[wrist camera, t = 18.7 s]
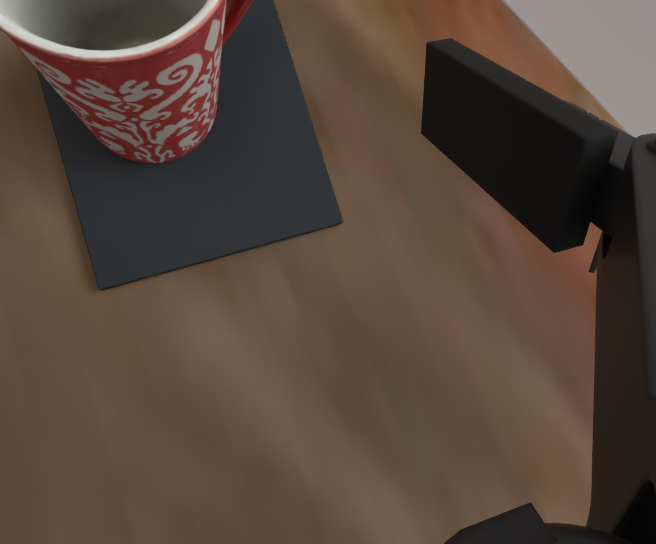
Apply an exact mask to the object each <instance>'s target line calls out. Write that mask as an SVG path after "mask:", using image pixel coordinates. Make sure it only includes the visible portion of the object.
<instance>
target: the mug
mask: <svg viewBox="0 0 656 544" xmlns="http://www.w3.org/2000/svg"><path fill="white" fill-rule="evenodd" d="M252 1H253V0H0V30H1V31H3V32H5V33H6V34H7V35H8V36H9V37H10V38H11V40H12V41H13V42H14V43H15V44H16V45H17V47H18V48H19V49H20V51H21V52H22V53H23V54H24V55H25V56H26V57H27V59H28V60H29V61H30V62H31V63H32V64H33V65H34V66H35V67H36V69H37V70H38V71H39V72H40V74H41V75H42V76H43V77H44V78H45V79H46V80H47V81H48V82H49V83H50V84H51V86H52V87H53V88H54V89H55V90H56V91H57V93H58V94H59V95H60V96H61V97H62V98H63V100H64V101H65V102H66V103H67V104H68V105H69V107H70V108H71V109H72V110H73V111H74V112H75V113H76V114H77V116H78V117H79V118H80V119H81V120H82V121H83V122H84V124H85V125H86V126H87V127H88V128H89V129H90V131H91V132H92V133H93V134H94V135H95V136H96V137H97V138H98V140H99V141H100V142H101V143H102V144H103V145H105V146H106V147H107V148H108V149H109V150H111V151H112V152H114V153H116V154H118V155H119V156H121V157H124V158H126V159H129V160H132V161H137V162H141V163H163V162H168V161H172V160H175V159H178V158H180V157H182V156H184V155H186V154H188V153H190V152H191V151H192V150H193V149H195V148H196V147H197V146H198V145H199V144H200V143H201V142H202V141H203V140H204V139H205V137H206V136H207V134H208V133H209V131H210V129H211V127H212V125H213V122H214V119H215V116H216V111H217V102H218V88H219V76H220V64H221V52H222V46H223V45H224V43H225V42H226V40H227V39H228V38H229V36H230V35H231V34H232V32H233V31H234V30H235V28H236V26H237V25H238V23H239V22H240V20H241V19H242V17H243V16H244V14H245V13H246V11H247V9H248V8H249V6H250V4H251V3H252Z"/></svg>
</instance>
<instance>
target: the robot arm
mask: <svg viewBox="0 0 656 544" xmlns="http://www.w3.org/2000/svg"><path fill="white" fill-rule="evenodd" d="M421 134H422V135H424V136H425V137H426V138H427V139H428V140H429V141H430V142H431V143H432V144H434V145H435V146H436V147H437V148H438V149H439V150H440V151H441V152H442V153H444V154H445V155H446V156H447V157H448V158H449V159H450V160H451V161H452V162H454V163H455V164H456V165H457V166H458V167H459V168H460V169H461V170H462V171H464V172H465V173H466V174H467V175H468V176H469V177H470V178H471V179H472V180H474V181H475V182H476V183H477V184H478V185H479V186H480V187H481V188H482V189H484V190H485V191H486V192H487V193H488V194H489V195H490V196H491V197H492V198H494V199H495V200H496V201H497V202H498V203H499V204H500V205H501V206H502V207H504V208H505V209H506V210H507V211H508V212H509V213H510V214H511V215H512V216H514V217H515V218H516V219H517V220H518V221H519V222H520V223H521V224H522V225H524V226H525V227H526V228H527V229H528V230H529V231H530V232H531V233H532V234H534V235H535V236H536V237H537V238H538V239H539V240H540V241H541V242H542V243H544V244H545V245H546V246H547V247H548V248H549V249H550V250H551V251H552V252H554V253H556V252H560V251H563V250H567V249H570V248H574V247H577V246H581V245H583V243H584V240H585V237H586V234H587V231H588V228H589V224H590V222H592V223H593V224H594V225H596V226H597V227H598V228H600V229H601V230H602V234H601V237H600V240H599V243H598V246H597V249H596V252H595V255H594V258H593V260H592V263H591V266H590V269H589V272H592V273H594V272H595V270H596V268H597V288H596V329H595V370H594V411H593V452H592V493H591V506H590V512H589V517H588V521H587V525H586V527H584V526H578V525H573V524H561V523H544V522H543V520H542V519H541V517H540V516H539V514H538V513H537V511H536V510H535V508H534V507H533V505H532V504H531V502H530V503H528V504H525V505H523V506H520V507H518V508H515V509H512V510H510V511H507V512H505V513H502V514H500V515H497V516H495V517H492V518H489V519H487V520H484V521H482V522H479V523H477V524H474V525H472V526H469V527H466V528H464V529H461V530H460V531H459V532H457V533H456V534H455V535H454V536H452V537H451V538H450V539H449V540H447V541H446V542H445V543H444V544H656V134H646V135H641V136H639V137H637V138H635V137H633V136H631V135H629V134H627V133H626V132H624V131H622V130H620V129H618V128H616V127H615V126H613V125H611V124H609V123H607V122H606V121H604V120H599V118H598V117H597V116H595V115H593V114H591V113H587V111H586V110H584V109H582V108H580V107H578V106H577V105H575V104H573V103H571V102H567V101H564V100H561V99H559V98H557V97H555V96H554V95H552V94H550V93H548V92H547V91H545V90H543V89H541V88H539V87H538V86H536V85H534V84H532V83H530V82H529V81H527V80H525V79H523V78H521V77H520V76H518V75H516V74H514V73H512V72H511V71H509V70H507V69H505V68H503V67H502V66H500V65H498V64H496V63H494V62H493V61H491V60H489V59H487V58H485V57H484V56H482V55H480V54H478V53H477V52H475V51H473V50H471V49H469V48H468V47H466V46H464V45H462V44H460V43H459V42H457V41H455V40H453V39H451V38H450V39H444V40H438V41H432V42H427V45H426V62H425V78H424V95H423V111H422V128H421Z"/></svg>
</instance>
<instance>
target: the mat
mask: <svg viewBox="0 0 656 544" xmlns="http://www.w3.org/2000/svg"><path fill="white" fill-rule="evenodd" d="M37 72H38V76H39V79H40V83H41V86H42V90H43V93H44V97H45V100H46V104H47V107H48V111H49V114H50V118H51V121H52V125H53V128H54V132H55V136H56V139H57V143H58V146H59V150H60V153H61V157H62V160H63V164H64V167H65V171H66V174H67V178H68V181H69V185H70V188H71V192H72V195H73V199H74V202H75V206H76V210H77V213H78V217H79V220H80V224H81V227H82V231H83V234H84V238H85V241H86V245H87V248H88V252H89V255H90V259H91V262H92V266H93V269H94V273H95V277H96V280H97V284H98V287H99V289H100V290H105V289H109V288H112V287H116V286H119V285H123V284H127V283H130V282H134V281H137V280H141V279H145V278H148V277H152V276H155V275H159V274H163V273H166V272H170V271H173V270H177V269H181V268H184V267H188V266H191V265H195V264H199V263H202V262H206V261H209V260H213V259H217V258H220V257H224V256H227V255H231V254H235V253H238V252H242V251H245V250H249V249H253V248H256V247H260V246H263V245H267V244H271V243H274V242H278V241H281V240H285V239H289V238H292V237H296V236H299V235H303V234H307V233H310V232H314V231H317V230H321V229H324V228H328V227H332V226H335V225H339V224H341V223H342V222H343V220H342V216H341V213H340V210H339V207H338V204H337V201H336V197H335V194H334V191H333V188H332V185H331V182H330V178H329V175H328V172H327V169H326V166H325V163H324V159H323V156H322V153H321V150H320V147H319V144H318V140H317V137H316V134H315V131H314V128H313V124H312V121H311V118H310V115H309V112H308V109H307V105H306V102H305V99H304V96H303V93H302V90H301V86H300V83H299V80H298V77H297V74H296V71H295V67H294V64H293V61H292V58H291V55H290V52H289V48H288V45H287V42H286V39H285V36H284V32H283V29H282V26H281V23H280V20H279V17H278V13H277V10H276V7H275V4H274V1H273V0H253V1H252V3H251V4H250V6H249V8H248V9H247V11H246V13H245V14H244V16H243V17H242V19H241V20H240V22H239V23H238V25H237V26H236V28H235V30H234V31H233V32H232V34H231V35H230V36H229V38H228V39H227V40H226V42H225V43H224V45H223V46H222V52H221V64H220V76H219V88H218V102H217V111H216V116H215V119H214V122H213V125H212V127H211V129H210V131H209V133H208V134H207V136H206V137H205V139H204V140H203V141H202V142H201V143H200V144H199V145H198V146H197V147H196V148H195V149H193V150H192V151H191V152H190V153H188V154H186V155H184V156H182V157H180V158H178V159H175V160H172V161H168V162H163V163H141V162H137V161H132V160H129V159H126V158H124V157H121V156H119V155H118V154H116V153H114V152H112V151H111V150H109V149H108V148H107V147H106V146H105V145H103V144H102V143H101V142H100V141H99V140H98V138H97V137H96V136H95V135H94V134H93V133H92V132H91V131H90V129H89V128H88V127H87V126H86V125H85V124H84V122H83V121H82V120H81V119H80V118H79V117H78V116H77V114H76V113H75V112H74V111H73V110H72V109H71V108H70V107H69V105H68V104H67V103H66V102H65V101H64V100H63V98H62V97H61V96H60V95H59V94H58V93H57V91H56V90H55V89H54V88H53V87H52V86H51V84H50V83H49V82H48V81H47V80H46V79H45V78H44V77H43V76H42V75H41V74H40V72H39V71H38V70H37Z"/></svg>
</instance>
